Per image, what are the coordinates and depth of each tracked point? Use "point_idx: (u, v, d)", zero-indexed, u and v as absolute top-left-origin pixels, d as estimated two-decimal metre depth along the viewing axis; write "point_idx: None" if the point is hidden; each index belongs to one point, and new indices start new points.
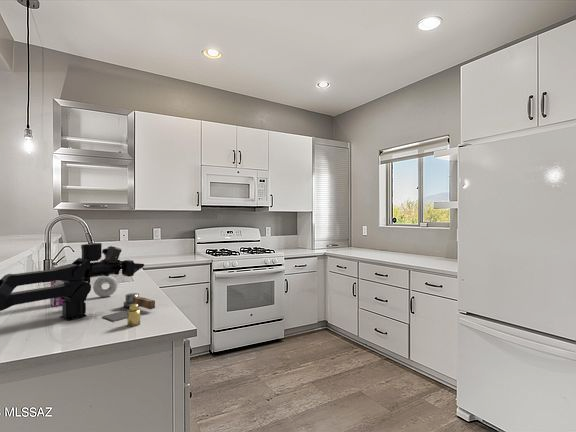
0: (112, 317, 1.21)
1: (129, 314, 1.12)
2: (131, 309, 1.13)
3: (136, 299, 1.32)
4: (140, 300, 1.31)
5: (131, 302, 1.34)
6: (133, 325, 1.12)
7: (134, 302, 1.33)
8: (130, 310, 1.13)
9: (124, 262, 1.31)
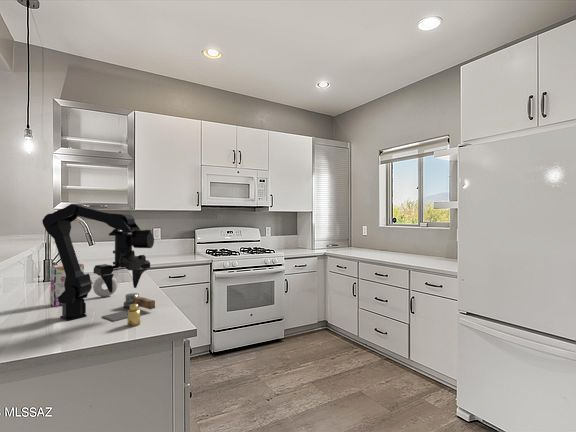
0: (112, 317, 1.21)
1: (129, 314, 1.12)
2: (131, 309, 1.13)
3: (136, 299, 1.32)
4: (140, 300, 1.31)
5: (131, 302, 1.34)
6: (133, 325, 1.12)
7: (134, 302, 1.33)
8: (130, 310, 1.13)
9: (108, 266, 1.14)
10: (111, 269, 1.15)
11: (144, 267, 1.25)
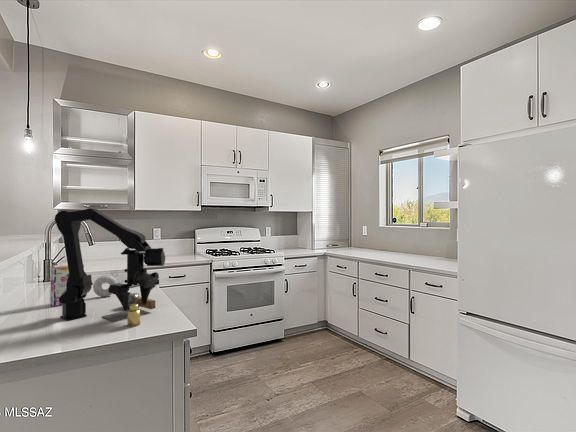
0: (112, 317, 1.21)
1: (129, 314, 1.12)
2: (131, 309, 1.13)
3: (136, 299, 1.32)
4: (140, 300, 1.31)
5: (131, 302, 1.34)
6: (133, 325, 1.12)
7: (134, 302, 1.33)
8: (130, 310, 1.13)
9: (124, 285, 1.17)
10: (127, 288, 1.18)
11: (154, 284, 1.29)
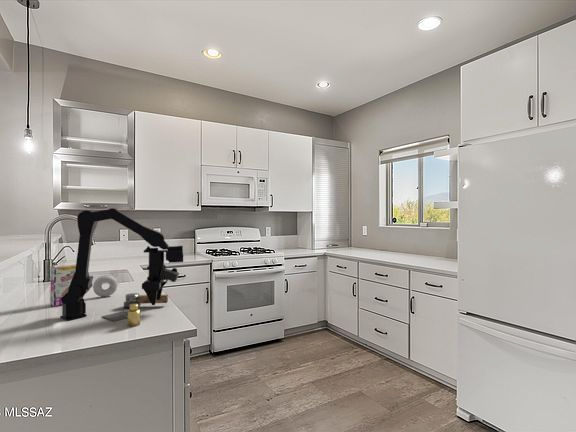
0: (112, 317, 1.21)
1: (129, 314, 1.12)
2: (131, 309, 1.13)
3: (143, 297, 1.35)
4: None
5: (135, 301, 1.35)
6: (133, 325, 1.12)
7: (139, 301, 1.35)
8: (130, 310, 1.13)
9: (158, 281, 1.25)
10: (160, 283, 1.26)
11: (167, 279, 1.38)
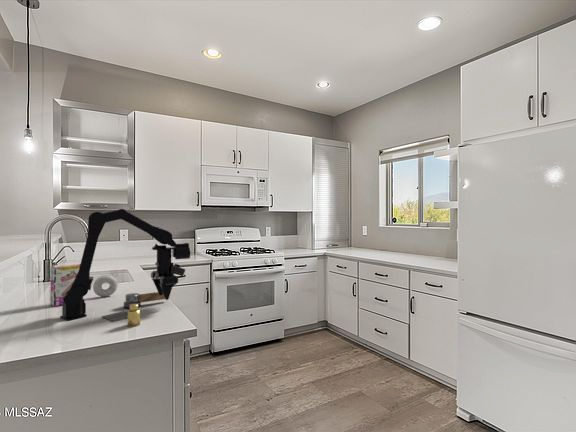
0: (112, 317, 1.21)
1: (129, 314, 1.12)
2: (131, 309, 1.13)
3: (145, 295, 1.38)
4: (151, 295, 1.39)
5: (138, 301, 1.36)
6: (133, 325, 1.12)
7: (141, 300, 1.37)
8: (130, 310, 1.13)
9: None
10: None
11: None
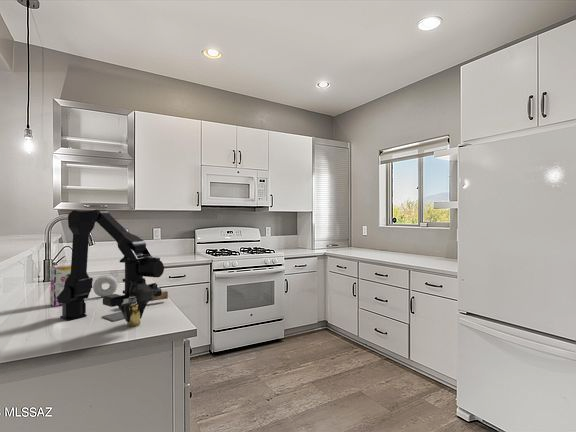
0: (112, 317, 1.21)
1: None
2: (131, 309, 1.13)
3: None
4: None
5: None
6: (133, 325, 1.12)
7: None
8: (130, 310, 1.13)
9: (118, 297, 1.07)
10: (121, 300, 1.07)
11: (155, 295, 1.18)
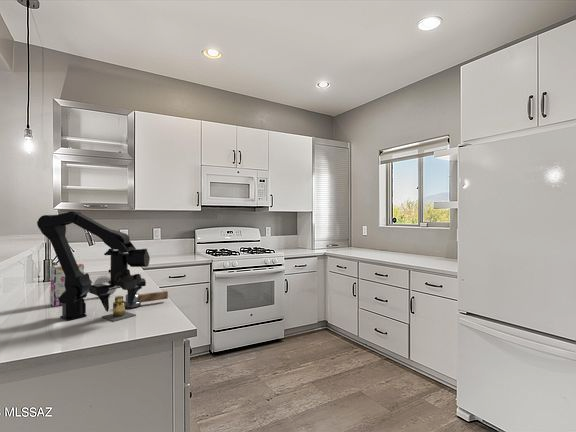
0: (112, 317, 1.21)
1: (114, 305, 1.21)
2: (116, 300, 1.22)
3: (145, 295, 1.38)
4: (151, 295, 1.39)
5: (138, 301, 1.36)
6: (118, 315, 1.21)
7: (141, 300, 1.37)
8: (115, 301, 1.22)
9: (103, 286, 1.16)
10: (107, 289, 1.16)
11: (139, 285, 1.27)
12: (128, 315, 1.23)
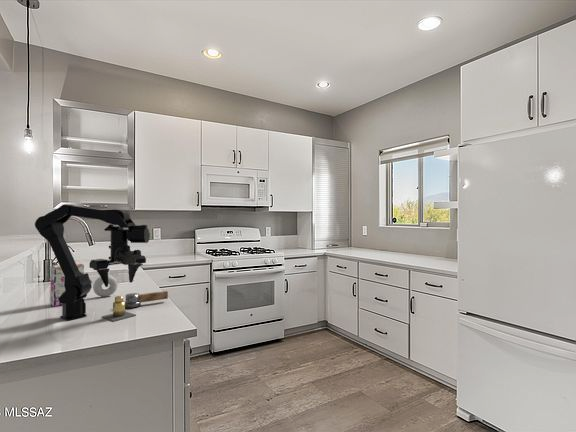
0: (112, 317, 1.21)
1: (114, 305, 1.21)
2: (116, 300, 1.22)
3: (145, 295, 1.38)
4: (151, 295, 1.39)
5: (138, 301, 1.36)
6: (118, 315, 1.21)
7: (141, 300, 1.37)
8: (115, 301, 1.22)
9: (104, 261, 1.16)
10: (107, 263, 1.16)
11: (140, 262, 1.27)
12: (128, 315, 1.23)
